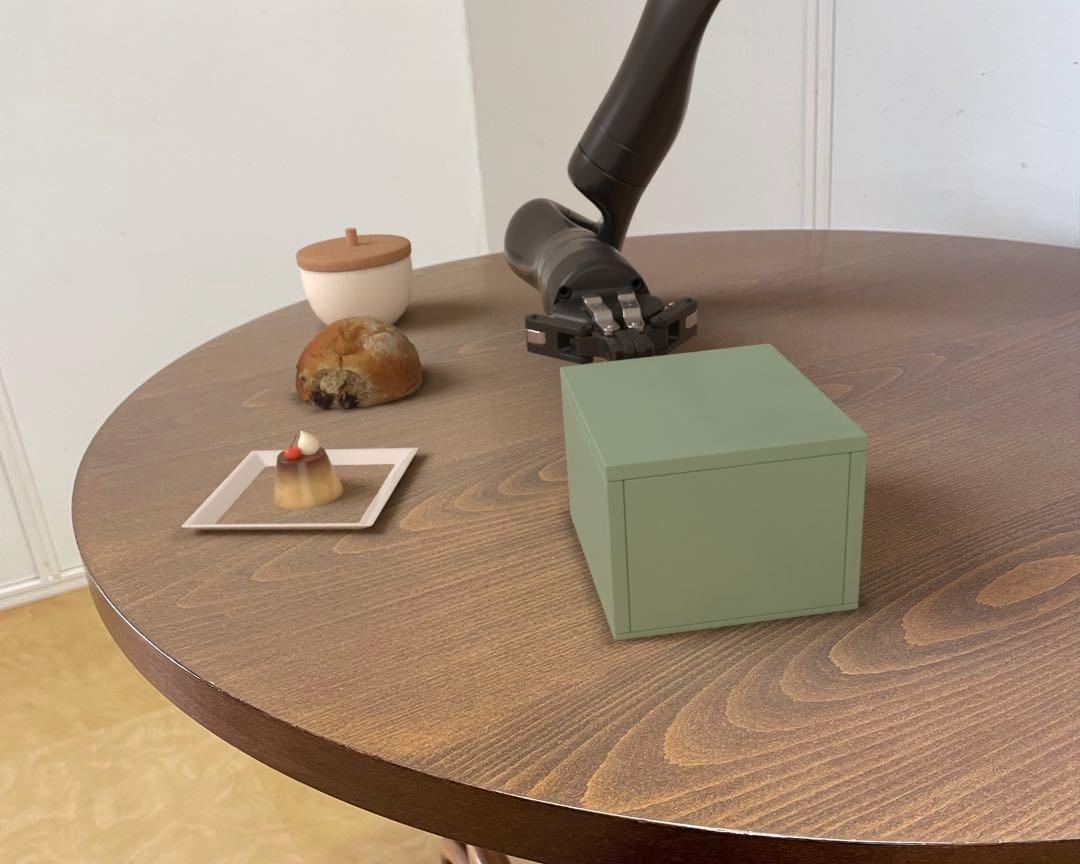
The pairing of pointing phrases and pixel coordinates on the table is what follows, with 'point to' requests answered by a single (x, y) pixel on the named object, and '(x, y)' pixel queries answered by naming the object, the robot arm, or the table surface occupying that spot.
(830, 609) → the cabinet
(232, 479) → the dessert
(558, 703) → the table surface
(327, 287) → the trinket box
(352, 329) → the bread roll
